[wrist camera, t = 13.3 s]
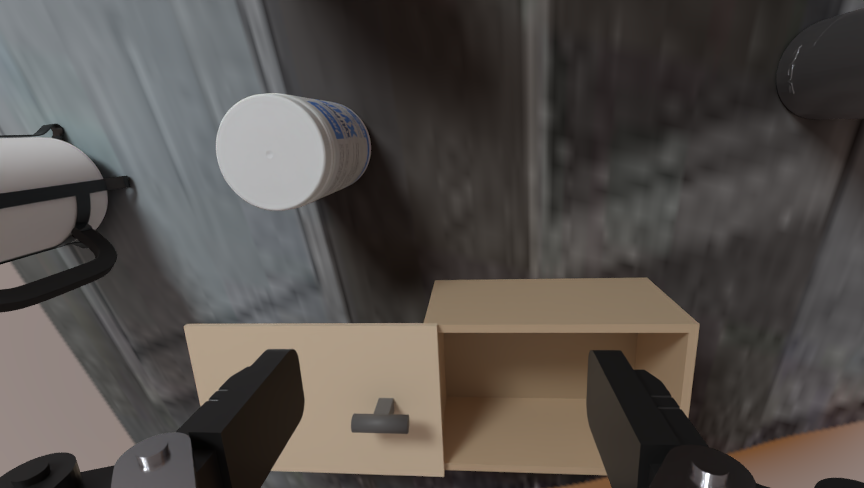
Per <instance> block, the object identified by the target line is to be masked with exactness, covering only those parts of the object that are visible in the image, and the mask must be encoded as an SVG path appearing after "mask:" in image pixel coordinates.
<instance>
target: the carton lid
mask: <svg viewBox="0 0 864 488" xmlns="http://www.w3.org/2000/svg"><path fill="white" fill-rule="evenodd" d="M184 331H185V336H186V340H187V345H188V350H189V355H190V359H191V364H192V369H193V373H194V378H195V383H196V387H197V392H198V397H199V402H200V406H202V405H203V404H204V403H205V402H206V401H209V398H210V397H211V396H212V395H213V394H214V393H215V392H216V391H218V390H219V388H220V387H221V386H222V385H223V384H224V383H225V382H226V381H227V380H228V379H229V378H230V377H231V376H233V375H234V374H236V373H238V372H239V371H241V370H243V369H244V368H246V367H250V366H251V365H252V364H253V363H254V362H255V361H256V360H257V359H258V358H259V357H260V356H261V355H262V354H263V353H264V351H266V350H267V349H294V350H296V352H297V354H298V358H299V364H300V371H301V378H302V384H303V391H304V398H305V405H304V412H303V416H302V419H301V421H300V423H299V424H298V426H297V428H296V429H295V431H294V433H293V434H292V436H291V438H290V439H289V441H288V443H287V444H286V446H285V448H284V449H283V451H282V453H281V454H280V456H279V458H278V459H277V461H276V463H275V464H274V466H273V468H272V469H271V471H291V472H319V473H348V474H376V475H404V476H433V477H444V473H445V471H444V451H443V430H442V410H441V389H440V369H439V348H438V328H437V323H301V324H186V325H185V326H184Z"/></svg>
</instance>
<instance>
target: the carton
mask: <svg viewBox="0 0 864 488" xmlns="http://www.w3.org/2000/svg"><path fill="white" fill-rule="evenodd" d="M424 323H437V328H438V348H439V369H440V389H441V410H442V430H443V451H444V470H462V471H492V472H522V473H551V474H581V475H607V473H606V470H605V468H604V465H603V462H602V460H601V457H600V454H599V451H598V449H597V446H596V443H595V441H594V438H593V435H592V433H591V430H590V427H589V423H588V418H587V408H586V397H587V373H588V356H589V352H590V350H621V351H622V352H623V354H624V356H625V357H626V359H627V360H628V362H629V363H630V365H631V367H632V368H633V370H646V371H647V372H649V373H650V374H652V375H653V376H655V377H656V378H657V379H659V380H660V381H662V383H663V384H664V385H665V387H666V388H667V390H668V391H669V392H670V394H671V397H672V398H674V399H675V401H676V402H677V404H678V405H679V406H680V409H682V411H683V412H684V413H685V415H686V416H687V417H689V409H690V400H691V392H692V384H693V375H694V367H695V359H696V350H697V342H698V334H699V325H700V324H699V323H698V322H696V321H695V320H694V319H693V318H692V317H691V316H690V315H689V314H687V313H686V312H685V311H684V310H683V309H682V308H681V307H680V306H678V305H677V304H676V303H675V302H674V301H673V300H672V299H670V298H669V297H668V296H667V295H666V294H665V293H664V292H663V291H661V290H660V289H659V288H658V287H657V286H656V285H655V284H654V283H652V282H651V281H650V280H649V279H648V278H579V279H499V280H435V282H434V286H433V290H432V294H431V297H430V301H429V305H428V309H427V313H426V316H425V320H424Z"/></svg>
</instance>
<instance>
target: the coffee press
mask: <svg viewBox="0 0 864 488" xmlns="http://www.w3.org/2000/svg"><path fill="white" fill-rule="evenodd" d="M50 129H52V131H53V136H52V138H43V137H35V138H22V137H33V136H40V135H44V134H45V133H47V132H48V131H49V130H50ZM63 135H64V130H63V128H62V127H61V126H60V125H58V124H49V125H43V126H42V127H41V128H40V129H39V130H38V131H37V132H36V133H35V134H33V135H4V136H0V264H3V263H7V262H10V261H14V260H17V259H21V258H24V257H27V256H31V255H34V254H38V253H41V252H45V251H48V250H52V249H55V248H59V247H62V246H66V245H69V244H74V245H76V246H79V247H81V248H89V249H90V250H91V251H92V252H93V253H94V254H95V258H96V259H94V260H93V261H90V262H88V263H85V264H82V265H80V266H77V267H74V268H71V269H68V270H65V271H63V272H60V273H57V274H54V275H51V276H48V277H46V278H43V279H40V280H37V281H34V282H31V283H28V284H25V285H22V286H19V287H15V288H11V289H3V290H0V312H7V311H13V310H18V309H22V308H25V307H28V306H32V305H35V304H38V303H41V302H43V301H46V300H49V299H51V298H54V297H56V296H59V295H61V294H64V293H66V292H69V291H71V290H74V289H76V288H79V287H81V286H83V285H86V284H88V283H91V282H93V281H95V280H97V279H99V278H101V277H103V276H104V275H106V274H107V273H108V272H109V271H110V270H111V269H112V267H113V265H114V264H115V262H116V259H117V254H116V251H115V249H114V247H113V246H112V245H111V244H110V243H109V242H108V241H107V240H106V239H105V238H104V237H103V236H102V235H100V234H99V233H98V232H96V231H95V230H96V229H97V228H98V226H99V225H100V224H101V222H102V220H103V218H104V216H105V214H106V210H107V205H108V195H107V190H113V189H119V188H126V187H130V184H129V180H128V177H127V176H121V177H113V178H105V179H103V177H102V175H101V173H100V171H99V170H98V168H97V167H96V165H95V164H94V163H93V161H92V160H91V159H90V158H89V157H88V156H87V155H86V154H85V153H83V152H82V151H81V150H80V149H78V148H77V147H75V146H73V145H71V144H69V143H67V142H65V141H62V140H61V139H62V137H63ZM77 239H78V240H79V241H80V242H73V241H74V240H77Z"/></svg>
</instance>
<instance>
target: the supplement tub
mask: <svg viewBox="0 0 864 488" xmlns="http://www.w3.org/2000/svg"><path fill="white" fill-rule="evenodd" d="M216 154H217V160H218V164H219V167H220V170H221V172H222V174H223V176H224V178H225V180H226V181H227V183H228V185H229V186H230V187H231V188H232V190H233V191H234V192H235V193H236V194H237V195H238V196H240V197H241V198H242V199H243V200H245V201H246V202H248V203H250V204H252V205H254V206H256V207H258V208H261V209H265V210H271V211H283V210H289V209H295V208H298V207H302V206H304V205H307V204H309V203H312V202H314V201H316V200H318V199H320V198H323V197H325V196H327V195H329V194H332V193H334V192H336V191H339V190H341V189H343V188H346V187H348V186H349V185H351V184H353V183H354V182H356V181H357V180H358V179H359V178H360V177H361V176H362V175H363V173H364V172H365V170H366V168H367V166H368V164H369V161H370V156H371V141H370V136H369V133H368V130H367V128H366V126H365V125H364V123H363V121H362V120H361V119H360V118H359V116H358V115H357V114H356V113H354V112H353V111H352V110H351V109H349V108H347V107H345V106H344V105H341V104H338V103H334V102H328V101H322V100H316V99H310V98H304V97H298V96H292V95H286V94H278V93H268V94H258V95H253V96H249V97H247V98H245V99H243V100H241V101H239V102H238V103H236V104H235V105H234V106H233V107H232V108H231V109H230V110H229V111H228V112H227V113H226V115H225V116H224V118H223V120H222V122H221V124H220V126H219V129H218V133H217V138H216Z"/></svg>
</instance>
